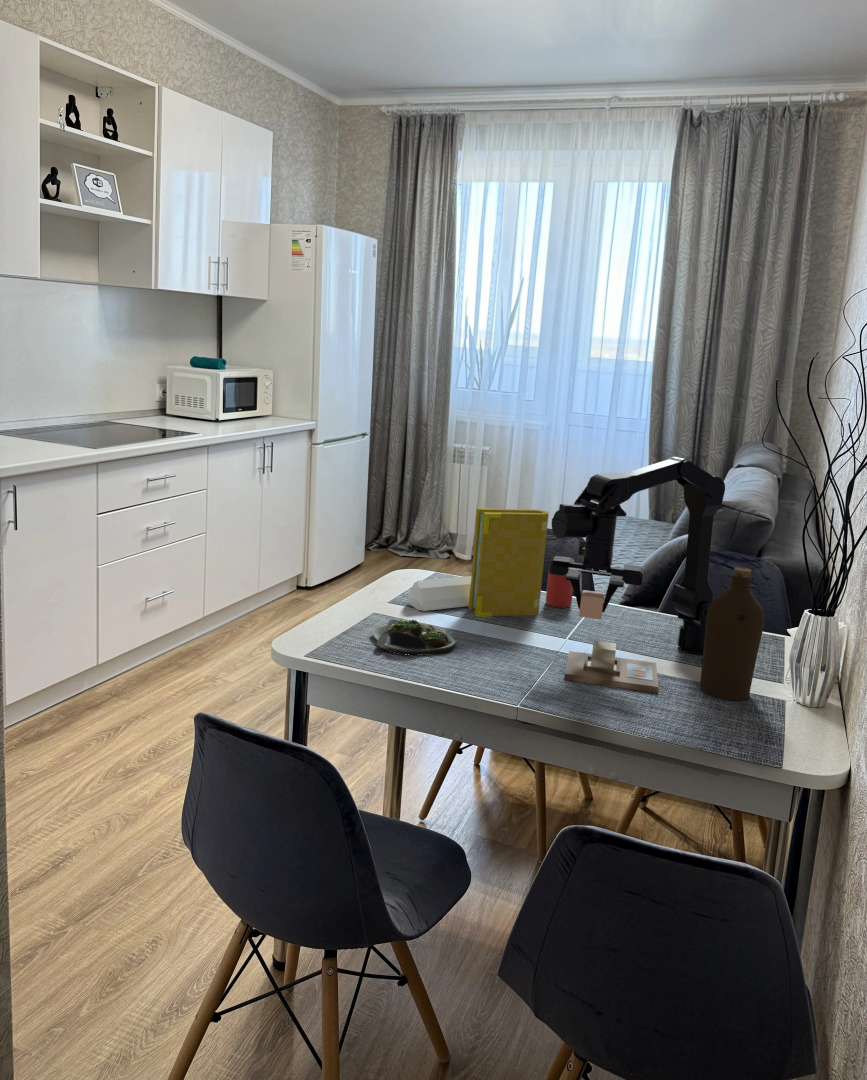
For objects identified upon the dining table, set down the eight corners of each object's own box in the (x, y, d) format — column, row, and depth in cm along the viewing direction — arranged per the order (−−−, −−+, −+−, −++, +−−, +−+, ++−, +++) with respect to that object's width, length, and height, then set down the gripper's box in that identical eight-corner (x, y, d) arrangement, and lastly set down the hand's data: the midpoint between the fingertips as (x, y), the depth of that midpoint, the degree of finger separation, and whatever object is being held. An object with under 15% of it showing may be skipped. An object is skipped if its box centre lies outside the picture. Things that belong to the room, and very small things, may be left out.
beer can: (563, 610, 222) (568, 563, 219) (540, 604, 226) (545, 558, 223) (575, 605, 227) (581, 559, 224) (553, 599, 231) (558, 554, 228)
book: (476, 616, 212) (485, 513, 206) (468, 608, 218) (476, 508, 212) (542, 615, 216) (553, 514, 211) (532, 607, 223) (542, 509, 217)
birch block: (613, 664, 183) (615, 643, 182) (613, 671, 178) (615, 650, 177) (591, 661, 183) (593, 640, 182) (590, 668, 179) (592, 647, 178)
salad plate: (356, 628, 198) (357, 609, 197) (432, 625, 204) (433, 606, 203) (381, 659, 180) (382, 638, 179) (463, 655, 186) (464, 634, 185)
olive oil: (764, 699, 173) (784, 575, 167) (721, 704, 169) (740, 577, 163) (726, 679, 182) (744, 561, 177) (685, 683, 178) (702, 563, 173)
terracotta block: (602, 613, 187) (604, 592, 186) (601, 619, 183) (603, 598, 182) (580, 610, 188) (583, 590, 187) (579, 616, 183) (581, 595, 182)
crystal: (420, 600, 208) (504, 592, 220) (408, 579, 213) (491, 571, 225) (411, 622, 213) (493, 612, 225) (399, 600, 217) (481, 592, 229)
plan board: (655, 668, 186) (656, 659, 185) (657, 692, 172) (659, 683, 172) (568, 656, 189) (569, 647, 189) (564, 679, 176) (565, 669, 175)
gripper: (647, 535, 187) (637, 606, 191) (558, 524, 191) (550, 594, 195) (646, 545, 177) (636, 620, 180) (552, 534, 181) (544, 608, 184)
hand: (591, 610), depth 185 cm, fingers closed on terracotta block, 4 cm apart
